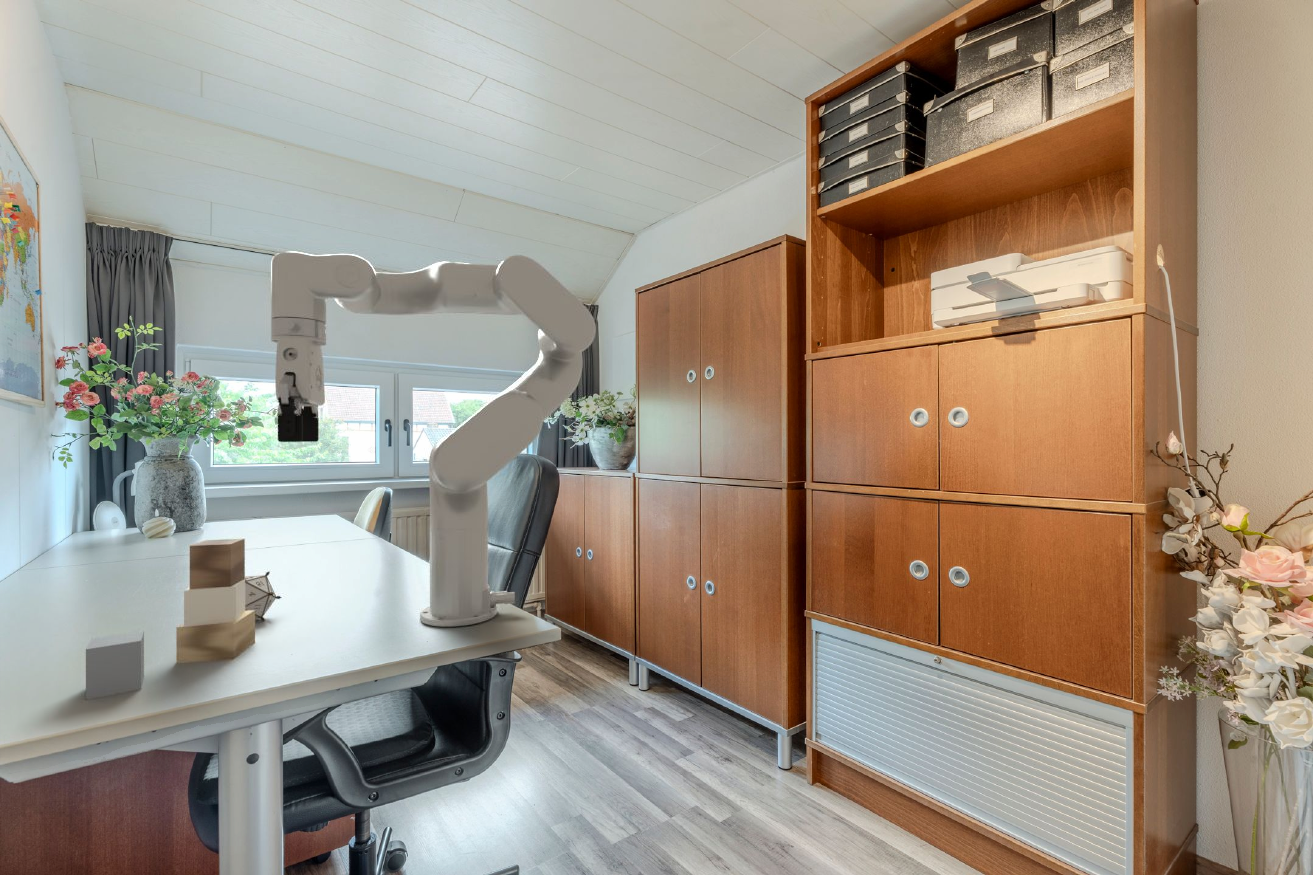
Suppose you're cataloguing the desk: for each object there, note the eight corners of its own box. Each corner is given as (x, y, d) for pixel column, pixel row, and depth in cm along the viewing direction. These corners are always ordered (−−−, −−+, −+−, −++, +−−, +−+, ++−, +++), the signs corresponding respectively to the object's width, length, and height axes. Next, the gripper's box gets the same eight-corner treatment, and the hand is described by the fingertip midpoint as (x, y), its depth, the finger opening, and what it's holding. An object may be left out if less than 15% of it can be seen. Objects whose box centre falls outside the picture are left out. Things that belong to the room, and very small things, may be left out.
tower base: (255, 643, 92) (255, 610, 92) (233, 659, 85) (233, 623, 85) (202, 646, 91) (202, 613, 91) (176, 663, 84) (176, 627, 84)
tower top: (245, 610, 92) (245, 577, 92) (235, 621, 86) (235, 586, 86) (196, 615, 89) (196, 581, 89) (184, 626, 84) (183, 590, 84)
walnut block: (244, 578, 91) (244, 538, 91) (230, 586, 86) (230, 544, 86) (205, 580, 90) (205, 540, 90) (189, 588, 85) (189, 545, 85)
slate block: (144, 676, 79) (143, 630, 79) (141, 689, 75) (141, 640, 75) (91, 686, 76) (91, 638, 76) (85, 700, 72) (85, 649, 72)
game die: (251, 645, 102) (239, 607, 96) (211, 624, 103) (197, 585, 97) (295, 607, 109) (286, 569, 103) (257, 588, 110) (247, 550, 105)
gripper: (311, 325, 89) (311, 441, 89) (337, 343, 106) (337, 441, 106) (252, 322, 87) (253, 442, 87) (288, 341, 104) (288, 441, 104)
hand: (299, 441), depth 96 cm, fingers open, 9 cm apart
